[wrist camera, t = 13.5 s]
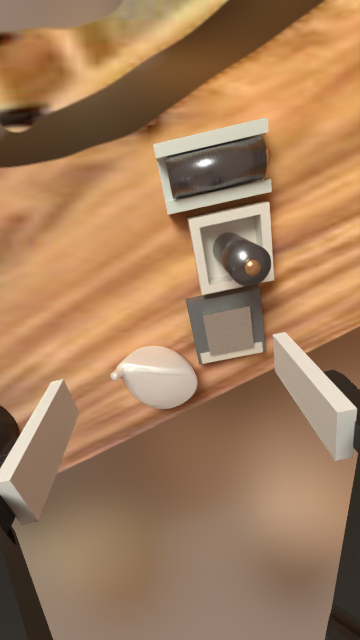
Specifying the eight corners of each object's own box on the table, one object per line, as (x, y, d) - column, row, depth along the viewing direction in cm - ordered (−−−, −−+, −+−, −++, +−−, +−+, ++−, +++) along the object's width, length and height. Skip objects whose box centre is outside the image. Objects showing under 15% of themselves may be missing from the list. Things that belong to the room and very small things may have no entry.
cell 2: (214, 266, 40) (233, 292, 29) (210, 235, 38) (229, 250, 27) (244, 260, 40) (274, 284, 29) (242, 229, 38) (273, 242, 27)
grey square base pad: (198, 357, 47) (199, 365, 45) (185, 298, 42) (186, 304, 40) (261, 345, 46) (266, 352, 44) (256, 284, 42) (260, 289, 40)
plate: (209, 351, 44) (210, 355, 43) (202, 313, 41) (202, 315, 40) (252, 343, 44) (253, 346, 43) (248, 303, 41) (249, 306, 40)
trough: (167, 213, 37) (167, 214, 34) (154, 148, 34) (153, 144, 31) (263, 191, 36) (271, 191, 33) (258, 124, 33) (267, 117, 30)
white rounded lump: (124, 353, 37) (183, 421, 36) (164, 324, 46) (212, 379, 45) (93, 386, 43) (143, 445, 42) (133, 355, 52) (175, 404, 51)
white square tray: (199, 287, 42) (202, 295, 38) (186, 217, 37) (188, 219, 34) (265, 273, 41) (274, 280, 38) (260, 201, 37) (269, 201, 34)
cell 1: (172, 198, 35) (173, 199, 31) (165, 160, 34) (164, 156, 30) (262, 178, 35) (275, 176, 31) (260, 138, 33) (272, 130, 29)
